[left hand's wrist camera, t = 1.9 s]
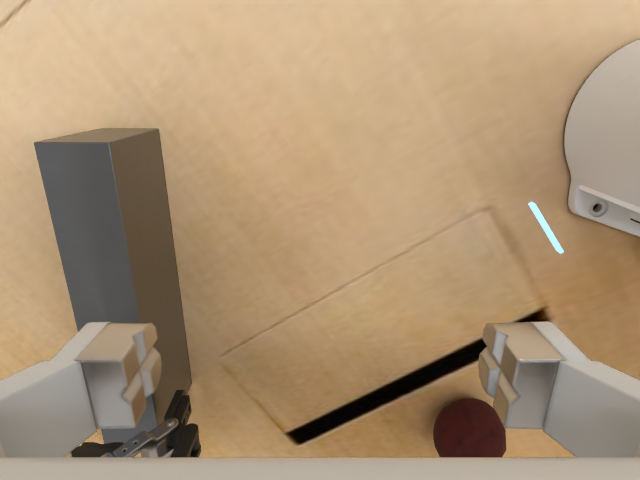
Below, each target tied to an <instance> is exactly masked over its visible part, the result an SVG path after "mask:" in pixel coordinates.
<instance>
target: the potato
mask: <svg viewBox="0 0 640 480" xmlns="http://www.w3.org/2000/svg"><path fill="white" fill-rule="evenodd" d="M433 433H434V443H435V447H436V450H437V452H438V454H439V456H440V457H502V456H503V455H504V453H505V451H506V436H505V428H504V426H503V424H502V422H501V420H500V418H499V416H498V414H497V413H496V411H495V410H494V408H493V407H491V406H490V405H489V404H487V403H486V402H484V401H482V400H477V399H462V400H459V401H457V402H453V403H451V404H450V405H448V406H447V407H445V408H444V409H443V410H442V411H441V412H440V414H439V416H438V417H437V419H436V421H435V425H434V432H433Z"/></svg>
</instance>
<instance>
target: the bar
mask: <svg viewBox="0 0 640 480" xmlns="http://www.w3.org/2000/svg"><path fill="white" fill-rule="evenodd" d="M34 146H35V150H36V154H37V158H38V163H39V167H40V171H41V175H42V180H43V184H44V188H45V192H46V197H47V201H48V205H49V210H50V214H51V218H52V222H53V227H54V231H55V235H56V239H57V244H58V248H59V252H60V256H61V261H62V265H63V269H64V273H65V278H66V282H67V286H68V290H69V295H70V299H71V303H72V307H73V312H74V316H75V320H76V324H77V329H78V332H79V331H80V330H81V329H82V328H83V327H84V326H85V325H86V324H87V323H90V322H136V323H152V324H153V325H154V326H155V327H156V332H157V337H158V339H157V340H156V342H155V344H154V345H153V347H154V348H155V349H156V350H157V351H158V352H159V353H160V356H161V376H160V380H159V384H158V386H157V388H156V390H155V392H154V393H153V394H152V395H150V396H149V397H147V398H146V404H147V407H146V409H145V411H144V413H143V414H142V416H141V418H140V420H139V422H138V424H137V425H136V427H135V428H120V429H101V431H102V435H103V439H104V443H105V444H107V443H112V442H123V443H126V442H127V441H129V440H130V439H132V438H133V437H135V436H136V435H138V434H139V433H140V432H142V431H146V432H150V431H151V430H153V429H154V428H156V427H157V426H159V425H160V424H161V423H163V422H164V416H165V414H166V412H167V410H168V407H169V405H170V403H171V401H172V399H173V396H174V394H175V392H176V390H185V391H186V395H187V393H188V391H189V389H190V386H191V384H192V381H191V373H190V366H189V358H188V350H187V343H186V335H185V327H184V320H183V312H182V304H181V297H180V289H179V281H178V274H177V266H176V258H175V251H174V243H173V235H172V228H171V220H170V212H169V205H168V197H167V189H166V182H165V174H164V166H163V159H162V151H161V143H160V136H159V129H97V130H92V131H87V132H82V133H77V134H72V135H68V136H63V137H58V138H53V139H48V140H43V141H38V142H34ZM163 442H165V439H164V440H163V441H162V442H160V443H159V444H158V445H157V447H158V446H159V445H161V444H162V443H163Z"/></svg>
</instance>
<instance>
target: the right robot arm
mask: <svg viewBox="0 0 640 480" xmlns="http://www.w3.org/2000/svg"><path fill="white" fill-rule="evenodd" d="M190 414H191V405H190V398H189V395H186V391H185V390H176V392H175V394H174V396H173V399H172V401H171V403H170V405H169V407H168V410H167V412H166V414H165V416H164V422H163V423H161V424H160V425H159V426H157V427H156V428H154V429H153V430H151V431H150V432H146V431H142V432H140V433H139V434H138V435H136V436H135V437H133V438H132V439H130V440H129V441H127V442H126V443H123V442H112V443H107V444H98V443H94V442H83V444H82V446H79V447H76V448H75V449H74V450H72V451H71V452H70V453H69V454H67V455H66V456H65V457H134V456H135V455H137V454H138V453H140V452H141V456H142V457H169V456H170V455H171V456H170V457H199V455H200V453H201V445H200V442H199V435H198V433H199V430H198V426H197V425H196V424H188V425H186V424H187V422H188V419H189V416H190ZM164 439H165V442H163V443H162V444H161V445H159V446H158V447H157V445H158V444H159V443H160V442H162V441H163V440H164Z"/></svg>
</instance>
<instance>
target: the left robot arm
mask: <svg viewBox="0 0 640 480" xmlns="http://www.w3.org/2000/svg"><path fill="white" fill-rule="evenodd" d="M564 148H565V155H566V160H567V163H568V167H569V170H570V175H571V184H570V190H569V197H568V206H569V209H570V210H571V212H573V213H574V214H577V215H579V216H582V217H585V218H588V219H591V220H593V221H596V222H599V223H602V224H605V225H608V226H610V227H613V228H616V229H619V230H622V231H624V232H627V233H630V234H633V235H636V236H638V237H640V39H638V40H636V41H634V42H632V43H630V44H628V45H626V46H624V47H622V48H621V49H619V50H617V51H616V52H615V53H613V54H612V55H610V56H609V57H608V58H607V59H606V60H604V61H603V62H602V63H601V64H600V65H599V66H598V67H597V68H596V69H595V70H594V71H593V72H592V73H591V75H590V76H589V77H588V78H587V80H586V81H585V83H584V84H583V85H582V87H581V89H580V90H579V92H578V94H577V95H576V97H575V99H574V101H573V104H572V106H571V109H570V111H569V114H568V118H567V122H566V127H565V134H564ZM595 204H597V207H596V208H595V209H594V210H593V206H594V205H595ZM529 206H530V208H531V209H532V211H533V213H534V214H535V216H536V218H537V219H538V221H539V223H540V224H541V226H542V228H543V229H544V231H545V233H546V234H547V236H548V238H549V239H550V241H551V243H552V244H553V246H554V248H555V249H556V251H557V252H559V253H560V254H561V253H563V252H564V251H563V249H562V248H561V246H560V244H559V243H558V241H557V239H556V237H555V236H554V234H553V232H552V231H551V229H550V227H549V226H548V224H547V222H546V221H545V219H544V217H543V216H542V214H541V212H540V211H539V209H538V207H537V206H536V204H535V203H533V202H530V203H529ZM157 339H158V337H157V332H156V327H155V326H154V325H153V324H152V323H136V322H90V323H87V324H86V325H85V326H84V327H83V328H82V329H81V330H80V331H79V332H78V333H77V334H76V335H75V336H74V337H73V338H72V339H71V340H70V341H69V342H68V343H67V344H66V345H65V346H64V347H63V348H62V349H61V350H60V351H59V352H58V353H57V354H56V355H55V356H54V357H53V358H52V359H51V360H50V361H42V362H39V363H37V364H35V365H33V366H30V367H28V368H26V369H24V370H22V371H19V372H17V373H15V374H13V375H11V376H8V377H6V378H4V379H2V380H0V480H640V380H638V379H636V378H634V377H632V376H629V375H627V374H625V373H623V372H621V371H618V370H616V369H614V368H612V367H609V366H607V365H605V364H603V363H601V362H598V361H590V360H589V359H588V358H587V357H586V356H585V355H584V354H583V353H582V352H581V351H580V350H579V349H578V348H577V347H576V346H575V345H574V344H573V343H572V342H571V341H570V340H569V339H568V338H567V337H566V336H565V335H564V334H563V333H562V332H561V331H560V330H559V329H558V328H557V327H556V325H555V324H553V323H551V322H524V323H488V324H486V326H485V328H484V331H483V337H482V339H483V340H484V342H485V344H486V345H487V347H486V348H485V349H484V350H483V351H482V352H481V353H480V356H479V364H478V367H479V377H480V381H481V384H482V386H483V388H484V390H485V392H486V393H487V394H488V395H490V396H491V397H493V398H494V404H493V407H494V409H495V411H496V413H497V414H498V416H499V418H500V420H501V422H502V424H503V425H504V427H505V428H519V429H543V431H544V432H545V433H546V434H548V435H549V436H550V437H551V438H553V439H554V440H555V441H556V442H558V443H559V444H560V445H562V446H563V447H564V448H565V449H567V450H568V451H569V452H570V453H572V454H573V455H574V456H575V457H65V456H66V455H67V454H69V453H70V452H71V451H72V450H74V449H75V448H76V447H77V446H79V445H80V444H81V443H82V442H84V441H85V440H86V439H87V438H89V437H90V436H91V435H93V434H94V433H95V432H96V431H97V429H120V428H135V427H136V425H137V424H138V422H139V420H140V418H141V416H142V414H143V413H144V411H145V409H146V407H147V404H146V398H147V397H149V396H150V395H152V394H153V393H154V392H155V390H156V388H157V386H158V384H159V380H160V376H161V356H160V353H159V352H158V351H157V350H156V349H155V348H154V347H153V345H154V344H155V342H156V340H157Z"/></svg>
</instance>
